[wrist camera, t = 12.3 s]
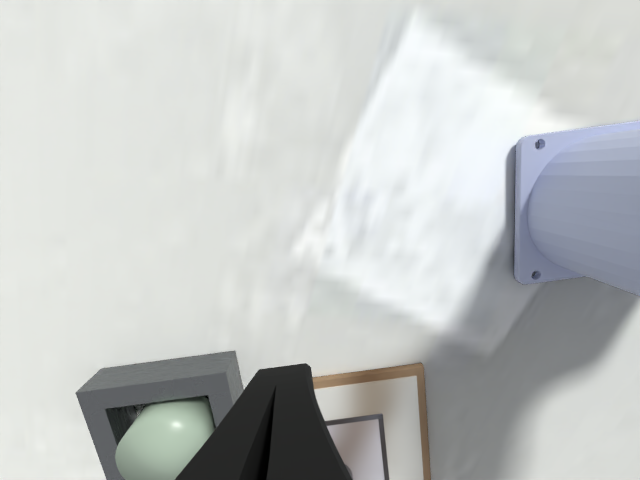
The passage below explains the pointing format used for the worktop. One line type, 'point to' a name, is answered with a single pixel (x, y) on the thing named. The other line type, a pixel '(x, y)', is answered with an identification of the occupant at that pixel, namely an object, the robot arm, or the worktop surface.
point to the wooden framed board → (378, 421)
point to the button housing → (153, 395)
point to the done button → (164, 438)
